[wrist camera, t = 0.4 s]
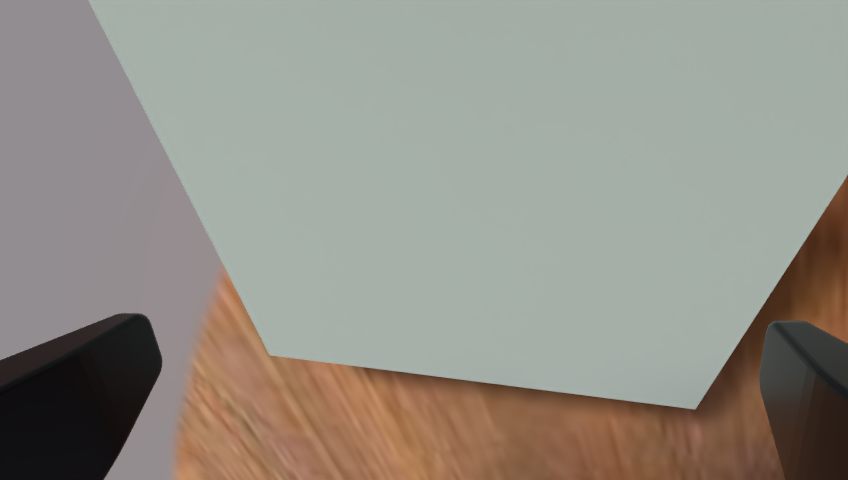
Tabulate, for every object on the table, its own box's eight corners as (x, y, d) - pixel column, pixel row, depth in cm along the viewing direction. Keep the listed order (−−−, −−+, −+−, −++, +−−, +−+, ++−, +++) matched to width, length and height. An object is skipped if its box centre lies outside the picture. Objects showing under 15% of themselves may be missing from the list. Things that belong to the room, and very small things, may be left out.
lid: (1012, -144, 8) (1039, -120, 8) (692, 386, 20) (695, 409, 20) (52, -142, 10) (26, -123, 10) (276, 335, 22) (269, 355, 22)
